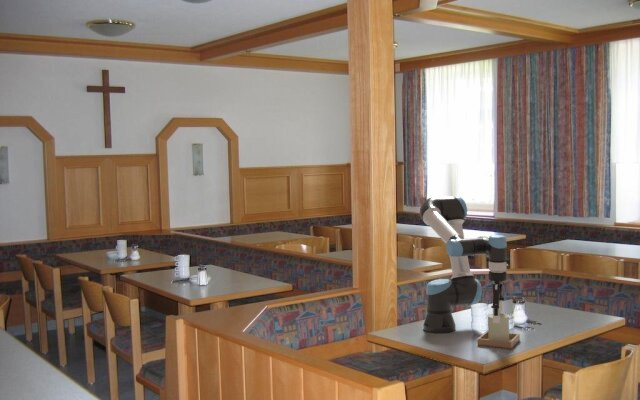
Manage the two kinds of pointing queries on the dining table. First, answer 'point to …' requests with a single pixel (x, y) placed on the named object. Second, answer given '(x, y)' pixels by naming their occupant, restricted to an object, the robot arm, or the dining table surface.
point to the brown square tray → (486, 342)
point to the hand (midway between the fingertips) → (497, 318)
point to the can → (498, 328)
